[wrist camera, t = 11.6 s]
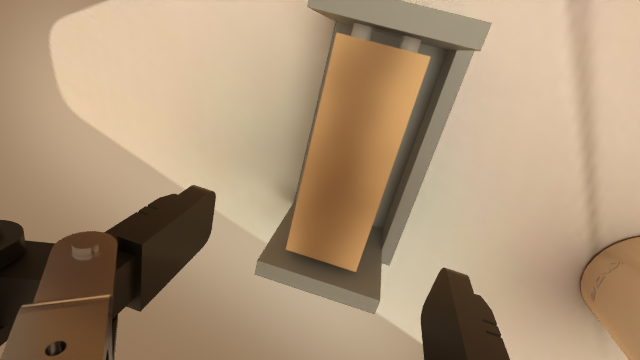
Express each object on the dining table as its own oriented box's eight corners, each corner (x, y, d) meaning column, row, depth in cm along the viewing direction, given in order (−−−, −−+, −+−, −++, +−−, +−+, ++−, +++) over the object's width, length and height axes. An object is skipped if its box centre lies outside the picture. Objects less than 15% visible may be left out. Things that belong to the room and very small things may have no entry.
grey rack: (464, 36, 25) (513, 28, 15) (389, 234, 32) (389, 318, 22) (342, 6, 26) (312, -21, 16) (295, 206, 33) (254, 274, 23)
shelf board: (425, 55, 20) (431, 56, 17) (359, 247, 25) (355, 271, 23) (343, 34, 20) (336, 32, 17) (296, 228, 26) (285, 249, 23)
